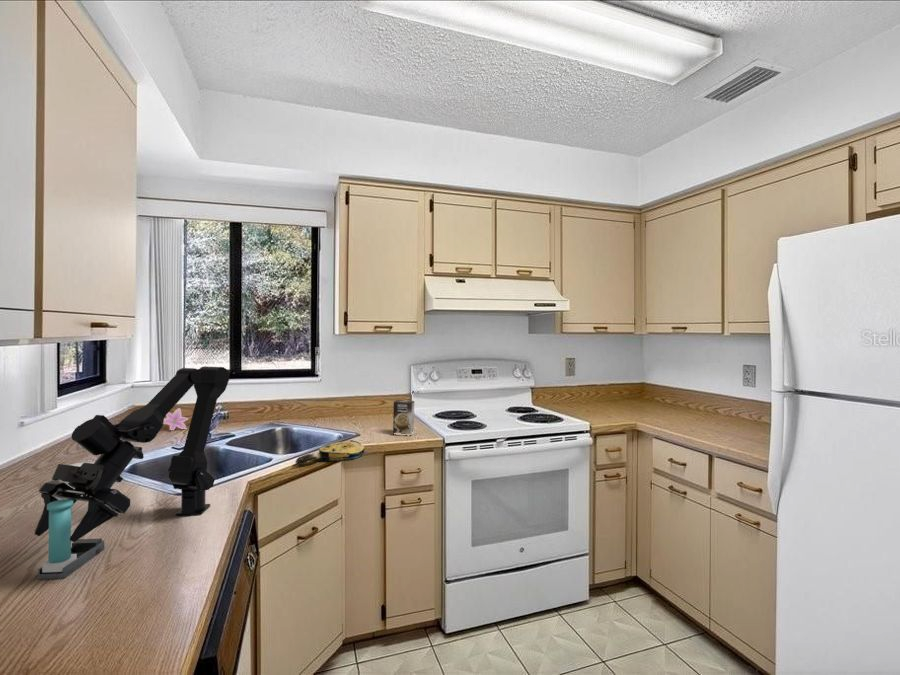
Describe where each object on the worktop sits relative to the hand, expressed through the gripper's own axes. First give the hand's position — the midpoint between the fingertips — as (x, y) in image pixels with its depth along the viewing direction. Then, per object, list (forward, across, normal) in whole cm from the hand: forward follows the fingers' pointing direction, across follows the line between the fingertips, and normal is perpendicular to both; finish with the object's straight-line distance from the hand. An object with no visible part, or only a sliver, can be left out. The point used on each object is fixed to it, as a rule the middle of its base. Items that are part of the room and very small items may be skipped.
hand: (53, 537), depth 90 cm
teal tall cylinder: (+4, 0, +5) cm, 6 cm away
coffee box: (-94, +20, +104) cm, 142 cm away
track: (+2, -1, +9) cm, 9 cm away
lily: (-76, -88, +86) cm, 144 cm away
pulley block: (-60, +10, +70) cm, 93 cm away
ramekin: (-25, -51, +36) cm, 67 cm away
